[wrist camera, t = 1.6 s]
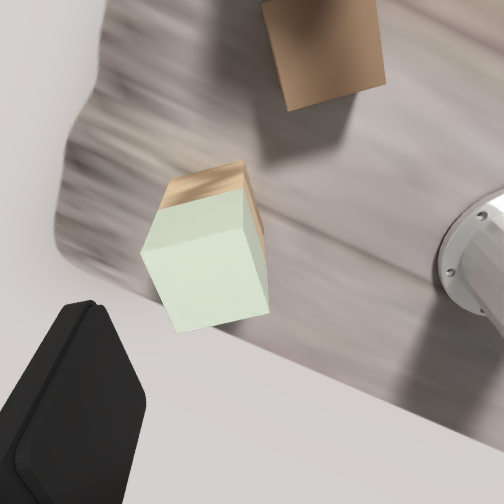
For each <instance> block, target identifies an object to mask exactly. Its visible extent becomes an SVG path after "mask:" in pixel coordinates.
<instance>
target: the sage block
mask: <svg viewBox="0 0 504 504" xmlns="http://www.w3.org/2000/svg"><path fill="white" fill-rule="evenodd" d="M140 254H141V256H142V258H143V261H144V263H145V265H146V267H147V270H148V272H149V274H150V276H151V278H152V281H153V283H154V285H155V287H156V289H157V292H158V294H159V296H160V298H161V300H162V303H163V305H164V307H165V309H166V311H167V314H168V316H169V318H170V320H171V322H172V325H173V327H174V329H175V331H176V334H180V333H184V332H189V331H193V330H197V329H201V328H206V327H210V326H215V325H219V324H224V323H228V322H232V321H237V320H241V319H245V318H250V317H254V316H259V315H263V314H267V313H270V309H269V296H268V283H267V270H266V261H265V258H264V255H263V251H262V248H261V245H260V241H259V238H258V235H257V232H256V228H255V225H254V222H253V218H252V215H251V212H250V208H249V205H248V202H247V198H246V195H245V192H244V189H243V188H240V189H237V190H233V191H229V192H225V193H221V194H218V195H214V196H210V197H206V198H202V199H199V200H195V201H191V202H187V203H183V204H180V205H176V206H172V207H168V208H165V209H161V210H158V212H157V214H156V216H155V219H154V221H153V224H152V226H151V229H150V231H149V234H148V236H147V238H146V241H145V243H144V246H143V248H142V251H141V253H140Z"/></svg>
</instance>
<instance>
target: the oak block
mask: <svg viewBox="0 0 504 504" xmlns="http://www.w3.org/2000/svg"><path fill="white" fill-rule="evenodd" d="M240 188H243V189H244V192H245V195H246V198H247V202H248V205H249V208H250V212H251V215H252V218H253V222H254V225H255V228H256V232H257V235H258V238H259V241H260V245H261V248H262V251H263V255H264V258H265V261H266V257H265V244H264V231H263V224H262V221H261V218H260V214H259V211H258V207H257V204H256V200H255V197H254V194H253V190H252V187H251V183H250V180H249V177H248V173H247V170H246V166H245V163H244V160H241V161H237V162H233V163H230V164H226V165H222V166H219V167H215V168H211V169H208V170H204V171H200V172H196V173H193V174H189V175H185V176H182V177H178V178H174V179H171V180H170V182H169V185H168V187H167V189H166V192H165V194H164V197H163V199H162V202H161V204H160V207H159V209H158V210H161V209H165V208H168V207H172V206H176V205H180V204H183V203H187V202H191V201H195V200H199V199H202V198H206V197H210V196H214V195H218V194H221V193H225V192H229V191H233V190H237V189H240Z"/></svg>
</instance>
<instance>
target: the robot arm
mask: <svg viewBox="0 0 504 504" xmlns="http://www.w3.org/2000/svg"><path fill="white" fill-rule="evenodd" d="M438 274H439V278H440V281H441V284H442V286H443V287H444V289H445V291H446V292H447V294H448V295H449V296H450V298H451V299H452V300H453V301H454V302H455V303H456V304H457V305H459V306H460V307H461V308H463V309H465V310H467V311H469V312H471V313H473V314H477V315H480V316H487V317H488V318H489V320H490V321H491V322H492V324H493V325H494V326H495V328H496V329H497V330H498V331H499V333H500V334H501V335H502V337H503V338H504V189H501V190H499V191H496V192H494V193H492V194H489V195H488V196H486V197H484V198H483V199H481V200H479V201H478V202H476V203H474V204H473V205H472V206H471V207H470V208H468V209H467V210H466V211H465V212H464V213H462V215H461V216H460V217H459V218H458V219H457V220H456V221H455V222H454V224H453V225H452V226H451V228H450V229H449V231H448V233H447V234H446V236H445V238H444V240H443V243H442V245H441V248H440V251H439V256H438ZM145 410H146V396H145V392H144V390H143V388H142V386H141V383H140V381H139V379H138V377H137V375H136V373H135V371H134V368H133V366H132V364H131V362H130V360H129V358H128V355H127V354H126V351H125V350H124V347H123V345H122V343H121V341H120V338H119V336H118V334H117V332H116V330H115V327H114V325H113V323H112V321H111V319H110V317H109V314H108V312H107V310H106V309H105V307H104V306H103V305H97V304H96V303H95V302H94V301H92V300H88V301H83V302H77V303H73V304H67V305H65V306H64V307H63V308H62V309H61V311H60V313H59V314H58V316H57V318H56V320H55V321H54V323H53V325H52V326H51V328H50V330H49V331H48V333H47V335H46V336H45V338H44V339H43V341H42V343H41V344H40V346H39V348H38V350H37V351H36V353H35V355H34V356H33V358H32V359H31V361H30V363H29V365H28V366H27V368H26V369H25V371H24V373H23V374H22V376H21V378H20V379H19V381H18V383H17V384H16V386H15V388H14V390H13V391H12V393H11V394H10V396H9V398H8V399H7V401H6V403H5V405H4V406H3V408H2V409H1V411H0V504H122V502H123V498H124V494H125V490H126V486H127V482H128V478H129V474H130V470H131V466H132V462H133V457H134V454H135V450H136V446H137V442H138V438H139V433H140V429H141V426H142V422H143V418H144V414H145Z"/></svg>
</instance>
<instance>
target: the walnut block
mask: <svg viewBox="0 0 504 504" xmlns="http://www.w3.org/2000/svg"><path fill="white" fill-rule="evenodd" d="M260 4H261V8H262V12H263V16H264V21H265V25H266V29H267V33H268V38H269V42H270V46H271V51H272V55H273V59H274V63H275V68H276V72H277V76H278V80H279V85H280V89H281V93H282V96H283V99H284V102H285V104H286V107H287V110H288V112H289V111H292V110H296V109H299V108H303V107H306V106H310V105H314V104H317V103H321V102H324V101H328V100H331V99H335V98H338V97H342V96H346V95H349V94H353V93H356V92H360V91H363V90H367V89H370V88H374V87H378V86H381V85H385V84H386V79H385V71H384V63H383V55H382V48H381V40H380V32H379V24H378V16H377V8H376V0H268V1H264V2H261V3H260Z"/></svg>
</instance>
